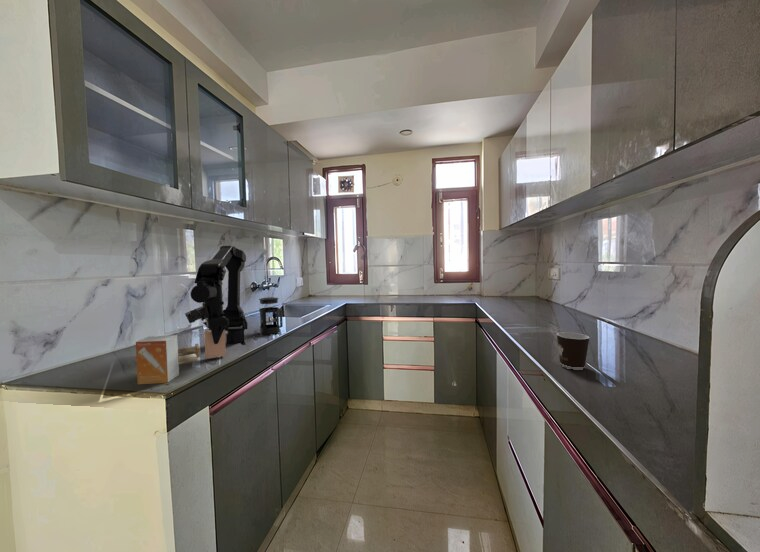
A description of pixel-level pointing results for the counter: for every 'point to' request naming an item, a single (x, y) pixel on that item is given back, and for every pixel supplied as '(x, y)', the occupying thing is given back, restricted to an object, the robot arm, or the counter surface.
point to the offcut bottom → (189, 362)
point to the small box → (157, 359)
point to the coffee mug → (572, 348)
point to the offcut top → (187, 358)
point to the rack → (190, 350)
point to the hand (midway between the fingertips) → (215, 342)
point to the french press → (271, 327)
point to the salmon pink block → (214, 345)
